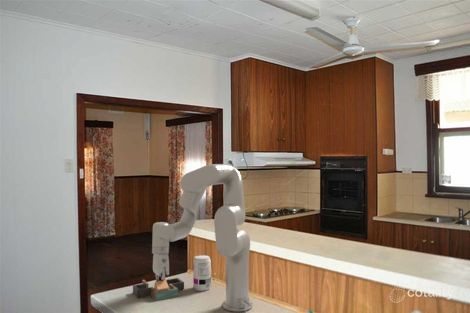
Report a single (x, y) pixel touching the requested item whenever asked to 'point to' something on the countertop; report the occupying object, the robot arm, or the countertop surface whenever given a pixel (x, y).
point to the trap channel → (144, 291)
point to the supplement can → (202, 273)
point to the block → (161, 285)
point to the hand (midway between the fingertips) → (159, 289)
